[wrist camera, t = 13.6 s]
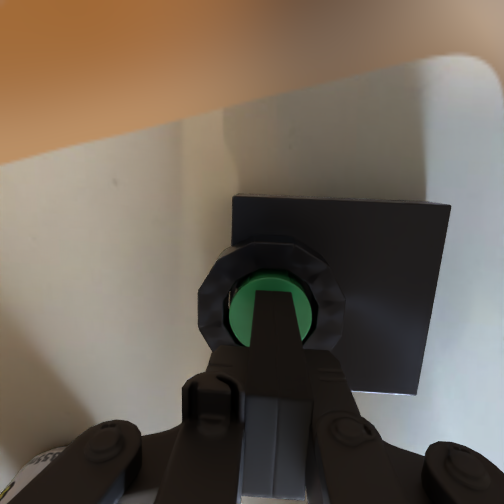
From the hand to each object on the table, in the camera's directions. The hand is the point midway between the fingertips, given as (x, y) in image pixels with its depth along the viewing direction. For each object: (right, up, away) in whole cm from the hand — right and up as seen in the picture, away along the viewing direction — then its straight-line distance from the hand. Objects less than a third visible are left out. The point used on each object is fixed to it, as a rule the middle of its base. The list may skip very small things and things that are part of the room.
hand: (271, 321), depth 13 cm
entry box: (+3, +1, +4) cm, 5 cm away
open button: (0, 0, +2) cm, 2 cm away
